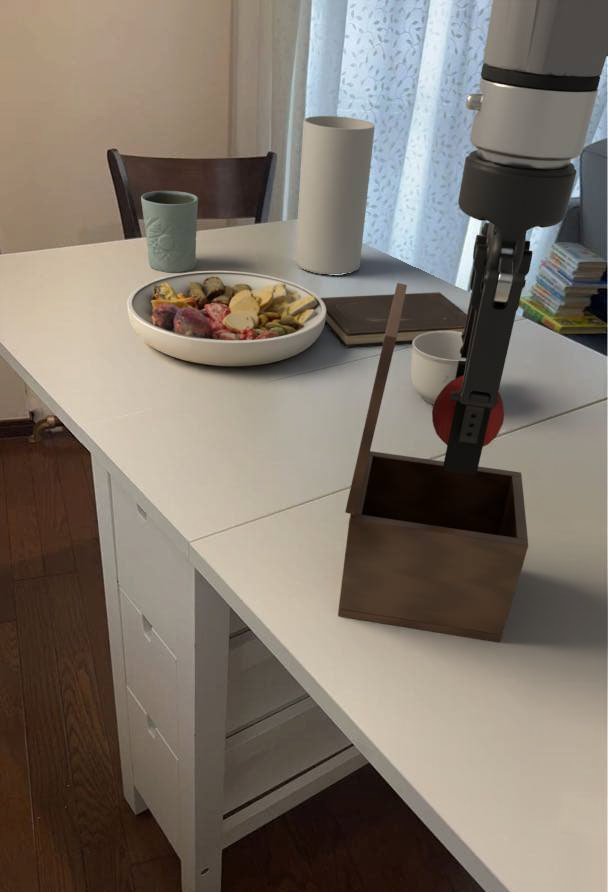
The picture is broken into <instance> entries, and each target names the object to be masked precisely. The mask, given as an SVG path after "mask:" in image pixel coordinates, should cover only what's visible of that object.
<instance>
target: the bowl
mask: <svg viewBox="0 0 608 892" xmlns="http://www.w3.org/2000/svg"><path fill="white" fill-rule="evenodd" d="M321 298H322V297H320V296H318V295H317V294H316V293H315V292H313V291H312V290H310V289H308V288H307V287H305V286H303V285H301V284H297V283H295V282H292V281H289V280H286V279H283V278H279V277H276V276H270V275H267V274H261V273H254V272H247V271H246V272H245V271H234V270H201V271H187V272H180V273H175V274H170V275H166V276H161V277H159V278H155V279H153V280H150V281H148V282H145V283H143V284H141V285H140V286H138V287H136V289H134V290H133V291H132V292H131V293H130V295H129V296H128V298H127V301H126V306H127V308H126V309H127V315H128V319H129V322H130V324H131V326H132V328H133V330H134V331H135V332H136V334H137V335H138V336H139V338H141V340H142V341H144V342H145V343H146V344H147V345H149V346H150V347H152V348H153V349H155V350H157V351H159V352H160V353H163V354H165V355H168V356H170V357H173V358H176V359H179V360H183V361H187V362H190V363H195V364H201V365H209V366H216V367H217V366H218V367H249V366H259V365H266V364H271V363H275V362H279V361H280V362H281V361H283V360H286V359H289V358H292V357H294V356H296V355H298V354H300V353H302V352H304V351H306V350H307V349H308V348H309V347H311V345H313V344H314V343H315V342H316V341H317V340H318V338H319V337H320V335H321V333H322V332H323V329H324V327H325V325H326V324H325V320H326V306H325V304H324V302H323V301H322V300H321Z"/></svg>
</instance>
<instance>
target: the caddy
mask: <svg viewBox="0 0 608 892" xmlns="http://www.w3.org/2000/svg"><path fill="white" fill-rule="evenodd" d="M443 465H444V460H436V459H428V458H423V457H416V456H409V455H400V454H395V453H394V454H393V453H387V452H379V451H372V450H370V453H369V457H368V462H367V466H366V470H365V474H364V479H363V483H362V487H361V491H360V496H359V500H358V504H357V508H356V513H355V515H353V514H349V518H348V526H347V527H348V528H347V534H346V536H347V537H346V545H345V553H344V561H343V569H342V577H341V585H340V593H339V594H340V595H339V603H338V609H337V616H338V617H342V618H343V617H344V618H350V619H354V620H361V621H368V622H373V623H379V624H384V625H385V624H386V625H392V626H399V627H403V628H404V627H405V628H411V629H416V630H423V631H429V632H435V633H442V634H447V635H453V636H459V637H466V638H471V639H478V640H483V641H489V642H496V643H501V642H502V638H503V634H504V631H505V628H506V624H507V621H508V617H509V614H510V611H511V607H512V604H513V602H514V601H513V600H514V597H515V593H516V590H517V587H518V583H519V580H520V576H521V573H522V571H523V570H522V569H523V566H524V562H525V560H526V555H527V552H528V549H529V536H528V526H527V516H526V506H525V497H524V486H523V475H522V472H520V471H513V470H507V469H500V468H492V467H485V466H479V465H478V470H477V474H476V476H475V475H468V474H461V473H455V472H448V471H443Z"/></svg>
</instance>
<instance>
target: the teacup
mask: <svg viewBox="0 0 608 892" xmlns="http://www.w3.org/2000/svg"><path fill="white" fill-rule="evenodd" d="M461 336H462V332H457V331H434V332H428V333H424V334H421V335H419V336H417V337H416V338H414V340H413V342H412V343H411V346H412V352H411V353H412V354H411V365H410V382H411V385H412V387H413V389H414V390H415V392H416V393H417V394H418V395H420V396H421V398H422V399H424V400H425V402H427V403H430V404H432V405H434V403H435V401H436V399H437V397H438V395H439V394H440V392H441V391H442V390H443V388H444V387H445V386H446V385H447V384H448V383H450V382H451V381H452V380H454V379H455V377H456V372H457V367H458V362H459V361H465V360H466V358H461V353H460V348H461V347H462V346H463V343H462V338H461Z"/></svg>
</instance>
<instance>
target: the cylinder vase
mask: <svg viewBox="0 0 608 892" xmlns="http://www.w3.org/2000/svg"><path fill="white" fill-rule="evenodd" d="M302 123H303V124H302V139H301V140H302V141H301V158H300V174H299V175H300V176H299V192H298V194H299V195H298V207H297V208H298V209H297V226H296V240H295V241H296V243H295V244H296V245H295V263H296V265H297V266H298V267H299V268H300V269H301V270H303V269H304V270H303V271H305V270H307V271H306V272H308V271H310V272H309V273H311V272H314V273H313V274H315V273H320V274H319V275H321V274H342V273H349V272H353V271H355V270H356V271H357V270H359V268H360V266H361V259H362V251H363V241H364V232H365V231H364V230H365V222H366V221H365V220H366V212H367V202H368V194H369V185H370V184H369V183H370V177H371V175H370V174H371V166H372V155H373V147H374V146H373V145H374V137H375V130H376V129H375V128H376V125H375V123H373V122H371V121H368V120H365V119H360V118H355V117H349V116H338V115H337V116H335V115H313V116H308V117H305V118H303V122H302ZM356 271H355V272H356ZM353 273H354V272H353Z"/></svg>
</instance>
